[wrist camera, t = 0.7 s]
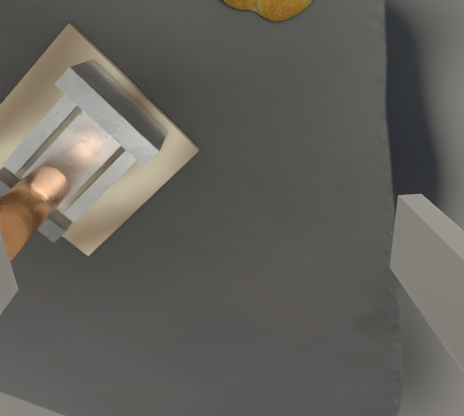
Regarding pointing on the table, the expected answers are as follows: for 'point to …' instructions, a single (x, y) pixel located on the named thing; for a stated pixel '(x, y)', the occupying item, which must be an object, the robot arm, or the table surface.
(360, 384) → the table surface
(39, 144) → the rails
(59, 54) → the board
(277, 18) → the bread roll
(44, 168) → the ram
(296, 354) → the table surface
